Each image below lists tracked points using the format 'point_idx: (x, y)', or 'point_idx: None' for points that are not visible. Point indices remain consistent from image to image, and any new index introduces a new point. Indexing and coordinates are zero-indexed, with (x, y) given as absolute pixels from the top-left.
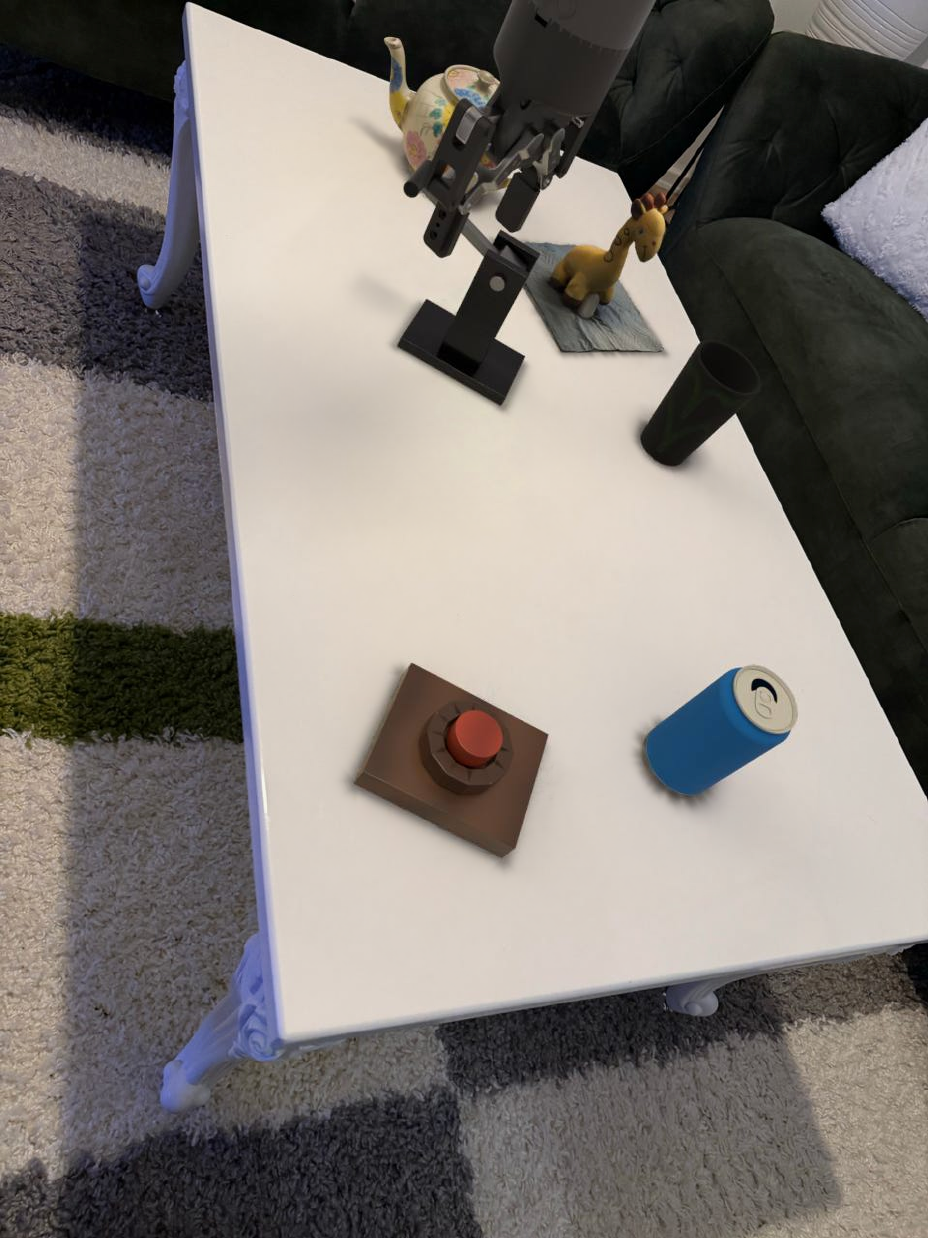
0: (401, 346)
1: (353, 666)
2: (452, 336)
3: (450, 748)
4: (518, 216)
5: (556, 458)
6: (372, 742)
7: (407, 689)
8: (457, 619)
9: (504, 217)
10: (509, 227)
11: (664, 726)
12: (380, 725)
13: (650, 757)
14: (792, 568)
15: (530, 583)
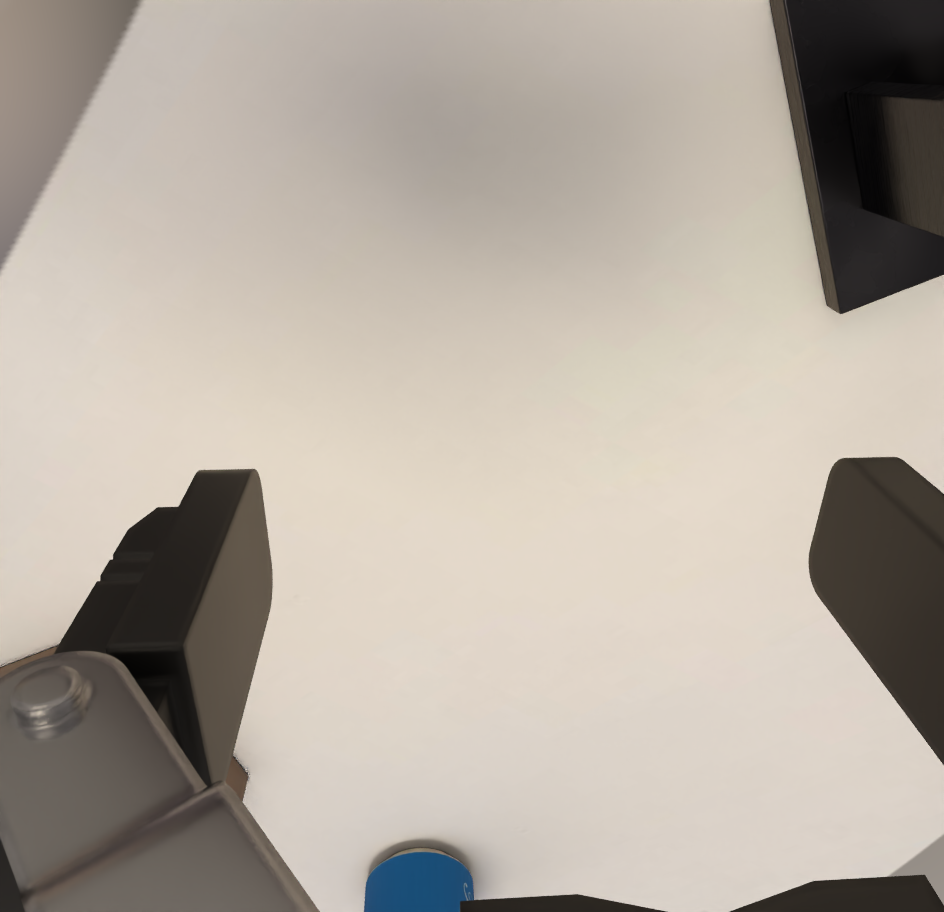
0: (774, 10)
1: (56, 571)
2: (877, 115)
3: None
4: (858, 617)
5: (794, 471)
6: (4, 669)
7: None
8: (288, 601)
9: (841, 523)
10: (821, 552)
11: (398, 897)
12: (29, 661)
13: (375, 873)
14: (938, 819)
15: (470, 620)
